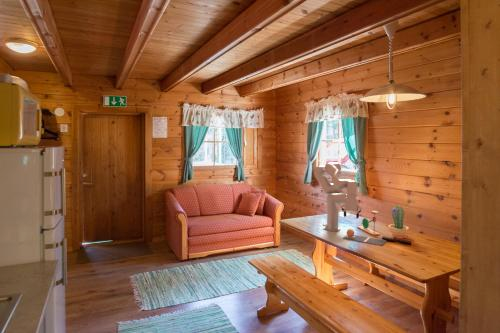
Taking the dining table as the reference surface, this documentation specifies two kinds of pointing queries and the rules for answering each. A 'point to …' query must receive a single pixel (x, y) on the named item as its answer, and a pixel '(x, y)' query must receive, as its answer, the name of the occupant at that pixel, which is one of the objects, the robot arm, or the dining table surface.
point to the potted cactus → (398, 223)
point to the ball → (350, 232)
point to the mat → (365, 240)
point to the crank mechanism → (366, 224)
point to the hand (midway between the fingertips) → (351, 217)
